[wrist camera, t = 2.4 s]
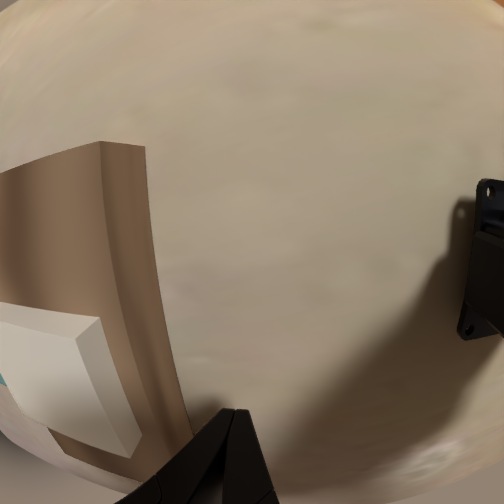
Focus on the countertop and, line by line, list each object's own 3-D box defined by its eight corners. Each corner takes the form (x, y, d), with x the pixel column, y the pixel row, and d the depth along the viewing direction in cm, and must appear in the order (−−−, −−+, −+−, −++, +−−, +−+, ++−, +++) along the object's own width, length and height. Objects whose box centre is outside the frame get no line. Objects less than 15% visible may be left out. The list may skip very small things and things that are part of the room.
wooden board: (144, 146, 10) (99, 141, 7) (199, 455, 14) (188, 492, 11) (9, 181, 11) (-33, 187, 8) (83, 426, 15) (65, 453, 12)
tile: (99, 317, 9) (75, 339, 7) (142, 435, 10) (130, 458, 9) (-4, 300, 9) (-25, 313, 8) (38, 399, 11) (23, 415, 9)
